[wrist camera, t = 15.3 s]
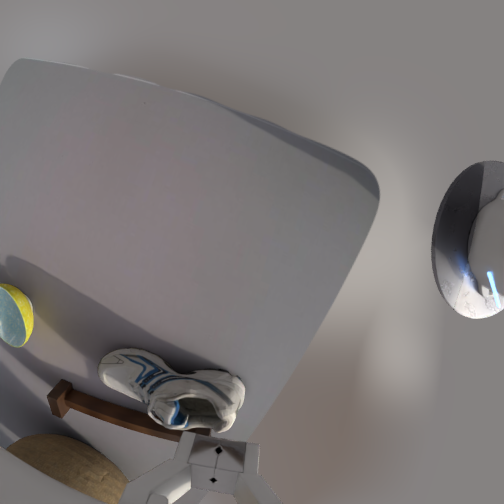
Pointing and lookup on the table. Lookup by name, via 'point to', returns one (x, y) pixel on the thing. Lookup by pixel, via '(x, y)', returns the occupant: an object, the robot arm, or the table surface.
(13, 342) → the bowl
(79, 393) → the wooden rail
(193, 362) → the table surface
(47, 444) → the basket
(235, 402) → the athletic shoe
